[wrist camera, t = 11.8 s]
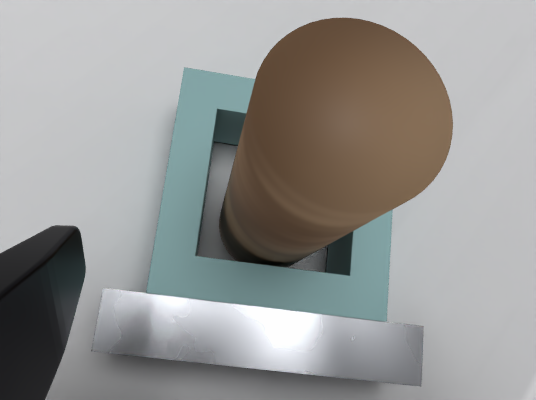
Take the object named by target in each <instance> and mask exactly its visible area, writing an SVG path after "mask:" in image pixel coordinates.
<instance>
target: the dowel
mask: <svg viewBox="0 0 536 400" xmlns="http://www.w3.org/2000/svg"><path fill="white" fill-rule="evenodd" d="M452 130H453V120H452V110H451V105H450V100H449V97H448V94H447V91H446V88H445V86H444V84H443V82H442V80H441V78H440V76H439V74H438V72H437V71H436V69H435V68H434V66H433V65H432V63H431V62H430V61H429V60H428V59H427V57H426V56H425V55H424V54H423V53H422V52H421V51H420V50H419V49H418V48H417V47H416V46H415V45H414V44H412V43H411V42H410V41H408V40H407V39H406V38H404V37H403V36H401V35H400V34H398V33H396V32H395V31H393V30H391V29H388V28H386V27H384V26H382V25H379V24H376V23H373V22H370V21H365V20H361V19H353V18H330V19H324V20H319V21H315V22H312V23H309V24H306V25H304V26H302V27H299V28H297V29H296V30H294V31H292V32H291V33H289V34H287V35H286V36H285V37H284V38H283V39H281V40H280V41H279V42H278V43H277V44H276V45H275V46H274V47H273V48H272V49H271V50H270V52H269V53H268V55H267V56H266V58H265V59H264V61H263V62H262V64H261V67H260V69H259V71H258V73H257V76H256V79H255V82H254V86H253V90H252V94H251V98H250V101H249V105H248V109H247V113H246V117H245V121H244V125H243V129H242V132H241V136H240V140H239V144H238V148H237V152H236V156H235V159H234V163H233V167H232V171H231V175H230V179H229V183H228V187H227V190H226V194H225V198H224V202H223V206H222V210H221V214H220V221H219V227H220V234H221V238H222V241H223V243H224V245H225V247H226V249H227V250H228V252H229V253H230V254H231V256H232V257H233V258H234V259H235V260H237V261H238V262H246V263H254V264H261V265H269V266H277V267H285V268H287V267H289V266H290V265H292V264H294V263H296V262H298V261H300V260H301V259H303V258H305V257H307V256H309V255H310V254H312V253H314V252H316V251H318V250H320V249H321V248H323V247H325V246H327V245H329V244H330V243H332V242H334V241H336V240H338V239H340V238H341V237H343V236H345V235H347V234H349V233H350V232H352V231H354V230H356V229H358V228H360V227H361V226H363V225H365V224H367V223H369V222H370V221H372V220H374V219H376V218H378V217H380V216H381V215H383V214H385V213H387V212H389V211H390V210H392V209H394V208H396V207H398V206H400V205H401V204H403V203H405V202H407V201H409V200H410V199H412V198H414V197H415V196H417V195H418V194H419V193H421V192H422V191H423V190H424V189H425V188H426V187H427V186H428V185H429V184H430V183H431V182H432V181H433V180H434V179H435V177H436V176H437V174H438V173H439V172H440V170H441V168H442V166H443V164H444V162H445V160H446V158H447V155H448V152H449V149H450V145H451V140H452Z"/></svg>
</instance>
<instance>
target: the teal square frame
mask: <svg viewBox="0 0 536 400" xmlns="http://www.w3.org/2000/svg"><path fill="white" fill-rule="evenodd" d="M254 82H255V79H250V78H245V77H239V76H233V75H227V74H221V73H215V72H209V71H203V70H197V69H191V68H185V67H184V72H183V78H182V84H181V90H180V95H179V101H178V107H177V113H176V119H175V125H174V131H173V137H172V143H171V148H170V154H169V160H168V166H167V172H166V178H165V184H164V190H163V196H162V202H161V207H160V213H159V219H158V225H157V231H156V237H155V243H154V249H153V255H152V261H151V266H150V272H149V278H148V284H147V290H146V293H150V294H159V295H167V296H175V297H184V298H192V299H200V300H209V301H217V302H225V303H234V304H242V305H250V306H259V307H267V308H275V309H284V310H292V311H300V312H309V313H317V314H325V315H334V316H342V317H350V318H358V319H367V320H375V321H383V322H387V304H388V285H389V266H390V248H391V229H392V210H393V209H392V210H390V211H389V212H387V213H385V214H383V215H381V216H380V217H378V218H376V219H374V220H372V221H370V222H369V223H367V224H365V225H363V226H361V227H360V228H358V229H356V230H354V231H352V232H350V233H349V234H347V235H345V236H343V237H341V238H340V239H338V240H336V241H334V242H332V243H330V244H329V245H328V257H327V269H326V273H323V272H316V271H308V270H300V269H292V268H285V267H277V266H269V265H261V264H254V263H246V262H238V261H230V260H223V259H215V258H207V257H199V256H197V253H198V246H199V239H200V232H201V226H202V219H203V212H204V205H205V199H206V192H207V185H208V178H209V171H210V165H211V158H212V151H213V144H214V141H215V142H221V143H228V144H234V145H238V144H239V140H240V136H241V132H242V129H243V125H244V121H245V117H246V113H247V109H248V105H249V101H250V98H251V94H252V90H253V86H254Z"/></svg>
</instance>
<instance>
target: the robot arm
mask: <svg viewBox="0 0 536 400" xmlns="http://www.w3.org/2000/svg"><path fill="white" fill-rule="evenodd" d="M85 271H86V266H85V259H84V252H83V245H82V239H81V233H80V231H79V229H78V228H77V227H76V226H60V225H55V226H52V227H50V228H48V229H46V230H44V231H42V232H40V233H38V234H36V235H34V236H33V237H31V238H29V239H27V240H25V241H23V242H21V243H19V244H17V245H15V246H14V247H12V248H10V249H8V250H6V251H4V252H2V253H0V400H45V398H46V396H47V394H48V391H49V389H50V386H51V384H52V381H53V379H54V377H55V374H56V372H57V369H58V367H59V364H60V362H61V359H62V356H63V354H64V351H65V347H66V344H67V341H68V337H69V334H70V330H71V326H72V323H73V319H74V315H75V312H76V308H77V304H78V301H79V297H80V293H81V290H82V286H83V282H84V278H85Z"/></svg>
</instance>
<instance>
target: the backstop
mask: <svg viewBox="0 0 536 400" xmlns="http://www.w3.org/2000/svg"><path fill="white" fill-rule="evenodd" d="M91 351H93V352H103V353H112V354H121V355H131V356H140V357H149V358H159V359H168V360H178V361H187V362H196V363H206V364H215V365H224V366H234V367H243V368H253V369H262V370H271V371H281V372H290V373H299V374H309V375H318V376H328V377H337V378H346V379H356V380H365V381H375V382H384V383H393V384H403V385H412V386H421V382H422V354H423V326H417V325H409V324H400V323H392V322H383V321H375V320H367V319H358V318H350V317H342V316H334V315H325V314H317V313H309V312H300V311H292V310H284V309H275V308H267V307H259V306H250V305H242V304H234V303H225V302H217V301H209V300H200V299H192V298H184V297H175V296H167V295H159V294H150V293H142V292H134V291H125V290H117V289H109V288H103V292H102V298H101V303H100V308H99V313H98V319H97V324H96V329H95V334H94V340H93V345H92V350H91Z"/></svg>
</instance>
